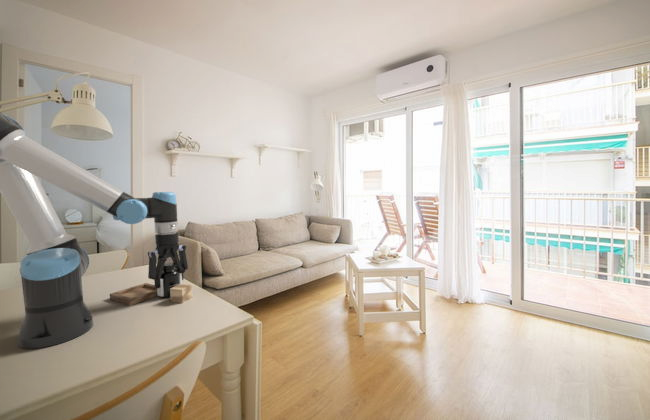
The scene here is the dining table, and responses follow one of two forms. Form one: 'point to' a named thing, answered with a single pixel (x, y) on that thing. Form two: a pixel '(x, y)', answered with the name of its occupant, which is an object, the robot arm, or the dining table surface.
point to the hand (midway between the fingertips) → (170, 292)
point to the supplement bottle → (169, 278)
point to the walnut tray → (135, 294)
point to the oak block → (181, 293)
